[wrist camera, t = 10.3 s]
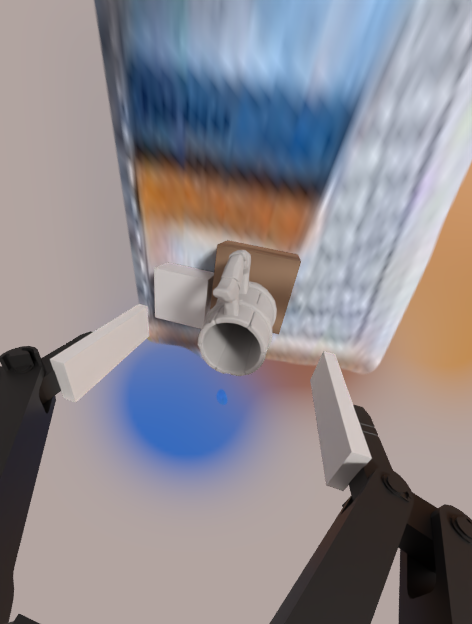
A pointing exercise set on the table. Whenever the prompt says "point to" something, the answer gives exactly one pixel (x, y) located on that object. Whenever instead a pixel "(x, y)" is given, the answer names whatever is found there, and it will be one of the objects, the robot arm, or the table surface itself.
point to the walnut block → (263, 273)
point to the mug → (238, 321)
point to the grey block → (182, 294)
